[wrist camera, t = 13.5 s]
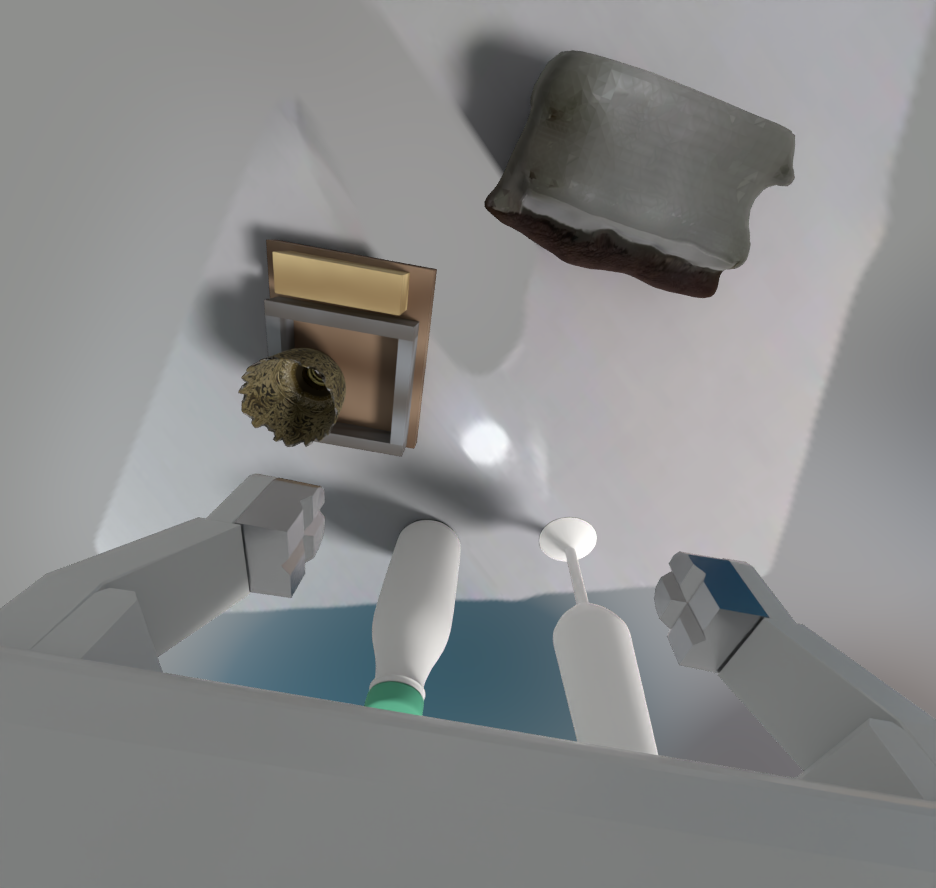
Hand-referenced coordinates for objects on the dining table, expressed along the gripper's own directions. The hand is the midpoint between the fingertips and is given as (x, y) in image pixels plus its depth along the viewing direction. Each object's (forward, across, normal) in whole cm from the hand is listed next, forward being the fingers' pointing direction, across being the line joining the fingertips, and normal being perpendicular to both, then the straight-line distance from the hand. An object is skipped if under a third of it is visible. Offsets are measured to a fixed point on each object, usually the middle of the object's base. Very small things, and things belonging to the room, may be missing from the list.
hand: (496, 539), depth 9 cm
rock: (+30, -8, -10) cm, 33 cm away
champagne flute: (+30, -14, +24) cm, 40 cm away
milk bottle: (+30, +2, +28) cm, 41 cm away
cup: (+28, +15, +8) cm, 33 cm away
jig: (+30, +13, +6) cm, 33 cm away
